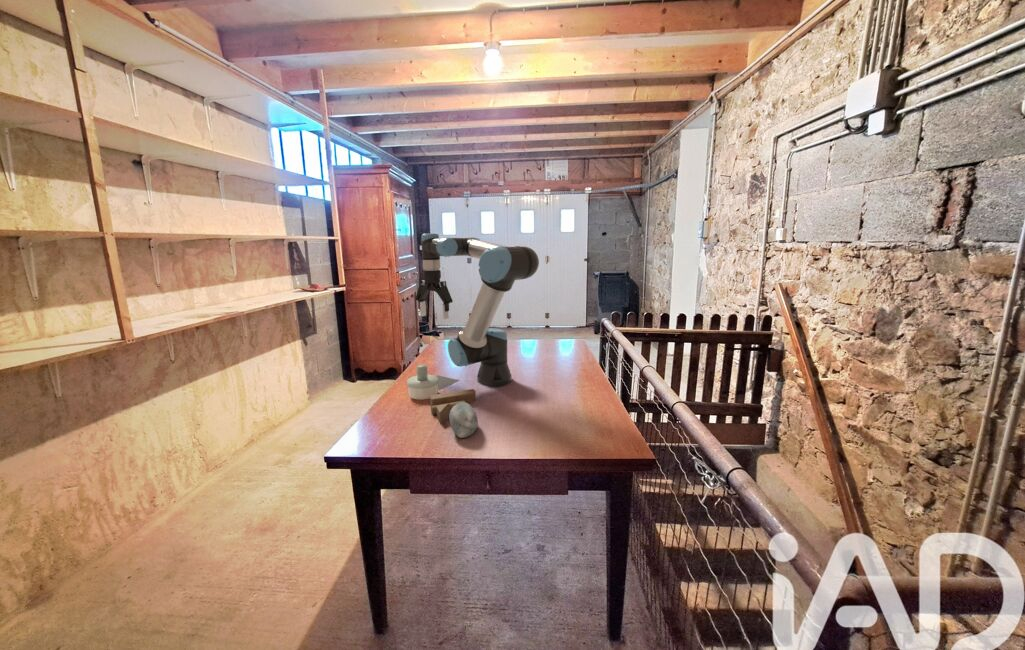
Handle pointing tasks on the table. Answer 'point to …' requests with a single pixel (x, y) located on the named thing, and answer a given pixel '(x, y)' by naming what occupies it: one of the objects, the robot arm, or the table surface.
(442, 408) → the brown jagged block
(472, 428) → the grey rock
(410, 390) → the bowl
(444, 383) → the trivet
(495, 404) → the table surface
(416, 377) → the lid
